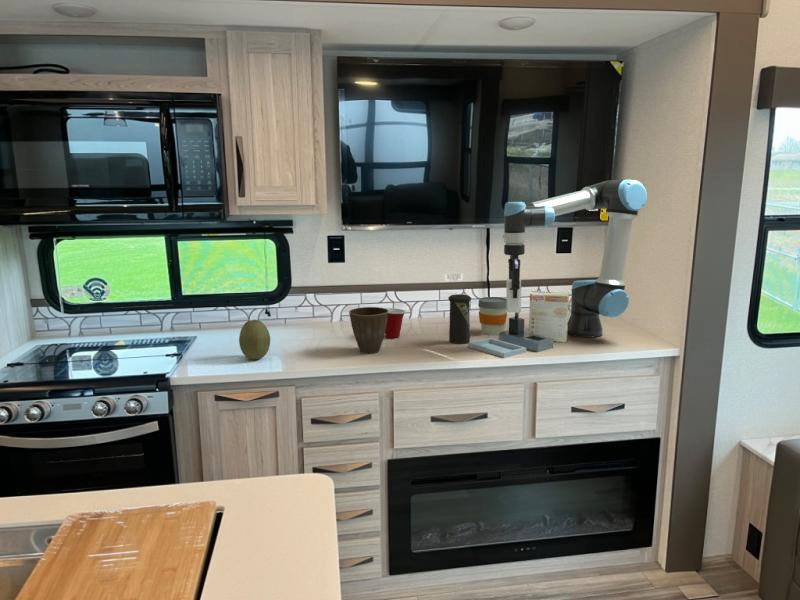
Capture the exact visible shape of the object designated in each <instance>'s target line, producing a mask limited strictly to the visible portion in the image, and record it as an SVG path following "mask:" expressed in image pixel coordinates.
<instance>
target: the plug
mask: <svg viewBox="0 0 800 600" xmlns="http://www.w3.org/2000/svg"><path fill="white" fill-rule="evenodd" d="M519 287H520V288H519V293H518V307H511V290H510V288H512V279H509V278H508V279H507V278H506V296H505V299H506V312H507V313H515V312H518V313H522V280H521V279H520V284H519Z"/></svg>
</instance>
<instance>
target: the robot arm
mask: <svg viewBox="0 0 800 600" xmlns="http://www.w3.org/2000/svg"><path fill="white" fill-rule="evenodd" d="M647 199H648V193H647V190H646V187H645V186H644V185H643V183H642V182H640V181H638V180H636V179H619V180H618V179H609V180H605V181H601V182H598V183H595V184H592V185H588V186H585V187H582V189H581V190H579V191H574V192H569V193H565V194H562V195H558V196H553V197H550V198H546V199H542V200H541V199H540V200H537V201H533V202H530V203H526V202H524V201H508V202H506V203H505V204H504V211H503V216H504V219H503V221H504V223H503V224H504V226H503V227H504V230H503V231H504V232H503V233H504V235H502V239H503V238H504V239H503V240H504V245H503V254H504V255H505V256H506V255H507V256H509V258H508V259H507V262H508V279H512V288H510V290H511V307H518V293H519V288H520V287H519V284H520V280H521V279H520V277H521V273H520V272H521V259H519V256H522V255H524V254H526V253H525V251H526V250H525V242H526V241H525V240H526V228H535V227H537V228H539V227H544V228H545V227H549V226H551V225H553V224H554V222H555V219H556V217H557V216H561V215H565V214H570V213H574V212H577V211H582V210H586V211H592V210H598V209H599V210H601V209H602V210H606V215H607V216H608V226H607V232H606V238H605V243H604V249H603V257H602V261H601V267H600V273H599V277H598V278H596V279H584V280H574V281H573V282H572V285H571V301H570V315H569V317H568V329H567V335H570V336H572V337H574V336H575V337H577V338H578V337H581V338H596V337H597V338H598V337H600V336H603V334H604V330H603V329H604V327H603V325H602V322H601V317H600V315H601V316H603V317H606V318H607V317H608V318H616V317H619V316H621V315H622V314H623V313H624V312H626V310H627V308H628V306H629V304H630V303H629V302H630V299H629V295H628V293H627V292H626V290H625V289H626V284H625V281H623V277H624V271H625V270H624V269H625V265H626V259H627V253H628V247H629V241H630V236H631V230H632V225H633V220H634V219H636V218H637V217H638V214H639V211H640V210H641V209H643V207H644V206H645V205H646V203H647Z"/></svg>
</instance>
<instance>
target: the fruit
mask: <svg viewBox="0 0 800 600" xmlns="http://www.w3.org/2000/svg"><path fill="white" fill-rule="evenodd" d="M238 342H239V348H240V350H241V352H242V354H243V355H244V356H245V358H247V359H249V360H253V361H254V360H255V361H256V360H260V359H263V358H264V357H265V356H266V355H267V354H268V352H269V350H270V346H271V336H270V332H269V329H268V328H267V325H266V324H265V323H263V322H262V320H258V319H249V320H248V321H246V322H245V323H244V324H243V325H242V327H241V329H240V332H239V338H238Z"/></svg>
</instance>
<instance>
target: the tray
mask: <svg viewBox="0 0 800 600" xmlns="http://www.w3.org/2000/svg"><path fill="white" fill-rule="evenodd" d="M467 345H468V348H470V349H472V350H477V351H480V352H483V353H485V354H486V353H487V354H489V355H490V354H491V355H493V356H496V357H500V358H503V359H506V358H509V357H513V356H518V355H521V354H522V355H523V354H525V353H527V350H528V349H527V348H525V347H522V346H518V345H514V344H511V343H507V342H503V341H499V339H495V338H492V337H488V338H484V339H479V340H475V341H471V342H470V343H468V344H467Z"/></svg>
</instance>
